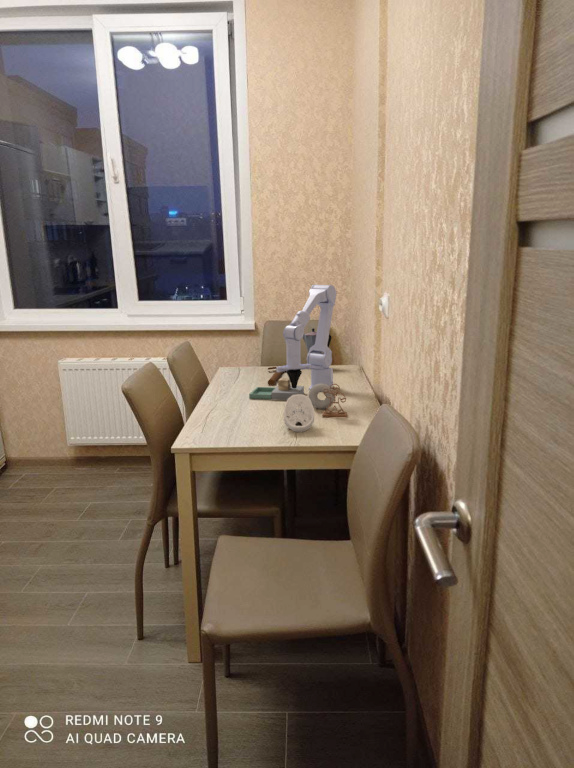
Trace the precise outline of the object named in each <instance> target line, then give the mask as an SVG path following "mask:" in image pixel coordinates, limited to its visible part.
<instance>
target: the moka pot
mask: <svg viewBox="0 0 574 768" xmlns="http://www.w3.org/2000/svg"><path fill="white" fill-rule="evenodd" d="M316 335H317V331H316V330H315V328H311V332H308V333H304V335H303V338H302V339H303V342H304V343H305V347H306V350H307V351H306V352H307V354H308V353H309V350H310V348H311V347H312V346H313V345H315V341H316ZM331 341H332V335H331V334H330V333H329V338H328V344H327V346H328V348H329V349H330V346H331V345H330V344H331ZM319 352H320V351H319ZM320 353H323V352H320ZM306 364H308V363H307V362H306Z"/></svg>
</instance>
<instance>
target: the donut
mask: <svg viewBox="0 0 574 768" xmlns="http://www.w3.org/2000/svg"><path fill="white" fill-rule="evenodd" d="M324 389H328V390H329V392H330V390H331V391H332V390H333V391H334V389H330V386H329V385H327V384H323V383H320V384H316V385H314V386H313V387H312V388H311V389H309V392H308V398H309V399H310V400H311V402H312V405H313V408H316V409H319V410H325V409H326V410H327V408H328V406H329V405H330V398H327V397H331V402H334V396H332V394H329V393H325V395H326V396H327V397H326V396H325V395H324V396H325V398H324V399H323V400H321V399H319V397H318V395H319V394H320V393H323V391H324V392H325V391H326V392H327V391H328V390H324ZM333 391H332V392H333ZM330 393H331V392H330ZM333 394H334V392H333ZM332 405H334V404H333V403H331V405H330V406H329V408H330V407H331V406H332ZM329 408H328V409H329Z"/></svg>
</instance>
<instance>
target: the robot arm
mask: <svg viewBox="0 0 574 768" xmlns="http://www.w3.org/2000/svg"><path fill="white" fill-rule="evenodd" d="M336 299H337V290H336V287H335V286H334V285H333V284H312V285H311V287H310V289H309V291H308V299H306V302H305V304H304V306H303V308H302V310H299V311H297V312H296V314H295V315H294V317H293V319H292V320H291V322H290V324H288V325H286V326H284V329H283V332H282V336H283V338H284V343H285V344H286V346H285V347H286V354H285V355H286V365H285V364H284V365H281V366H280V365H279V366H275V367H276V369H275V370H276V372H284V371H286V372H284V373H286V374H287V376H288V378H289V379H290V383H291V386H292V388H297V386H298V383H299V379H300V377H301V375H303V374H302V373H303V372H302V371H304V370H310V385H309V388H308V389H309V390H310V389H311V388H312V387H313V386H314V385H316V384H320V383H323V384H327V385H329V386H331V385H332V384H334V370H333V369H334V368H332V367H331V365H332V362H333V357H332V356H333V355H332V354H333V351H332V350H331V348H330V347H329V348H328V346H327V344H328V339H329V334H330V330H331V324H332V317H333V312H334V307H335V305H336ZM316 306H319V307H320V311H319V318H318V324H317V329H316V332H317V335H316V341H315V345H313V346H312V347H311V348H310V350H309V353H308V352H307V356H306V363H302V359H301V357H302V356H301V347H302V346H301V341H302V339H303V335H304V334H305V333H304V332H305V328H306V326H307V324H308V323H309V321H310V319H311V317H310V315H311V313H312V312H313V310H314V309H315V308H316ZM319 351H320V352H322V353H320V352H319ZM307 363H308V364H307ZM332 387H334V385H332V386H331V388H332Z"/></svg>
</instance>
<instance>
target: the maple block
mask: <svg viewBox="0 0 574 768" xmlns="http://www.w3.org/2000/svg"><path fill="white" fill-rule="evenodd" d="M277 386H278V390H289V389H290V388H291V386H292V385H291V382H290V379H289V377H288V378H285V377H281V378H279V379H278V380H277Z"/></svg>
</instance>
